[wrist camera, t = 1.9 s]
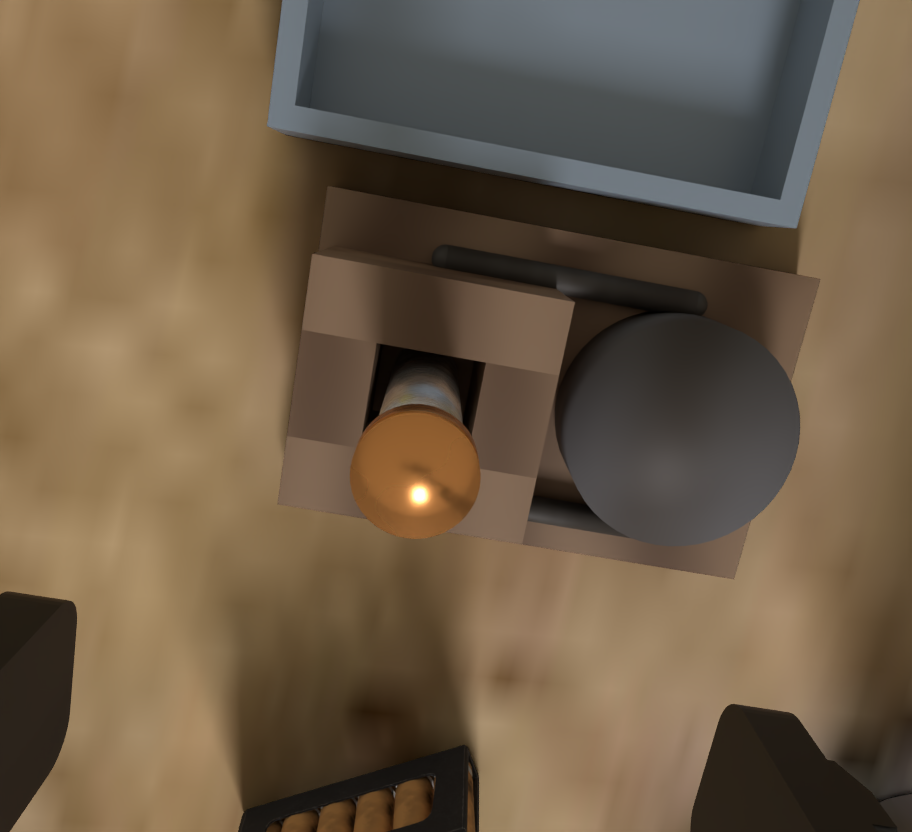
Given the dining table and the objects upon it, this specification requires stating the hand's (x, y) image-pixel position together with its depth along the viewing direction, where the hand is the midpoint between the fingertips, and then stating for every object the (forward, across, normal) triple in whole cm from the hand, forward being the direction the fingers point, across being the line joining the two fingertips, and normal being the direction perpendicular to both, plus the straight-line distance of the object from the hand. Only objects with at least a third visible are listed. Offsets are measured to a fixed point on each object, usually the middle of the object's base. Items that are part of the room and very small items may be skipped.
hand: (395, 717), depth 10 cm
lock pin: (+21, 0, 0) cm, 21 cm away
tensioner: (+23, -4, 0) cm, 24 cm away
